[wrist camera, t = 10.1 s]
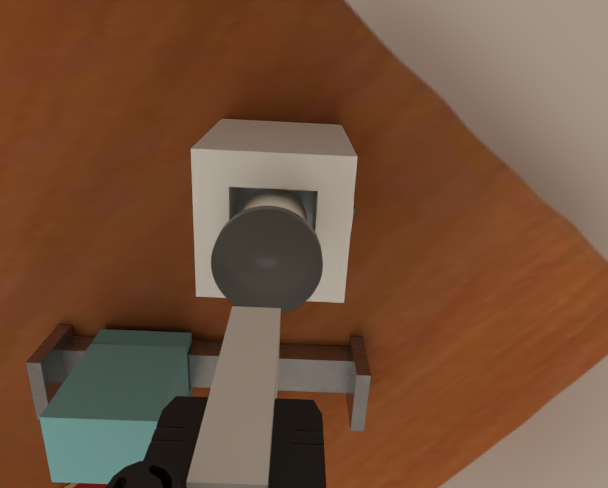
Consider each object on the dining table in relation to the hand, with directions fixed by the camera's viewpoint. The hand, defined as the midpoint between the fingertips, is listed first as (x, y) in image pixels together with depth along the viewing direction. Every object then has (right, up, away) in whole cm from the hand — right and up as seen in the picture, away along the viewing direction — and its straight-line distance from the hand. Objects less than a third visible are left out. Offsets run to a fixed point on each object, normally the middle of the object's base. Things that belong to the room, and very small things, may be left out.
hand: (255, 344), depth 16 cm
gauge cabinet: (0, +8, +19) cm, 20 cm away
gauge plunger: (0, +5, +11) cm, 12 cm away
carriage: (-11, -6, +24) cm, 27 cm away
